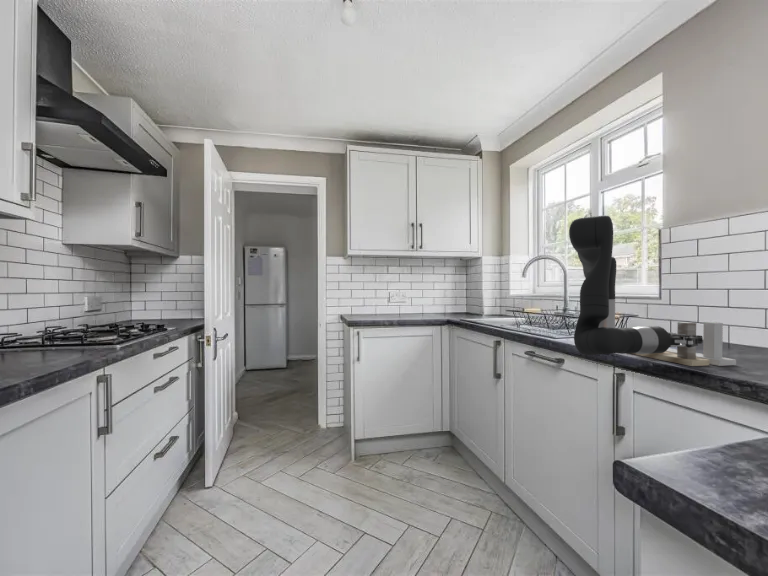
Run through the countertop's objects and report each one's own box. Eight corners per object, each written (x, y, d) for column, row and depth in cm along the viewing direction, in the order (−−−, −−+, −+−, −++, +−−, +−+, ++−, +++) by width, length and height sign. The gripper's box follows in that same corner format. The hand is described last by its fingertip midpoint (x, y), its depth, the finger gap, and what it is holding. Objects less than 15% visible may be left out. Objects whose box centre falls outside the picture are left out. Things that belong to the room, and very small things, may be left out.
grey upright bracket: (648, 352, 128) (648, 317, 128) (663, 351, 130) (663, 317, 130) (719, 365, 107) (719, 324, 107) (736, 365, 108) (736, 323, 108)
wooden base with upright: (625, 352, 128) (625, 317, 128) (640, 351, 129) (640, 317, 129) (691, 366, 106) (692, 324, 106) (709, 365, 108) (709, 323, 107)
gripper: (669, 329, 101) (721, 328, 105) (624, 324, 114) (671, 323, 118) (668, 358, 101) (720, 355, 105) (624, 349, 114) (671, 347, 118)
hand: (694, 338), depth 111 cm, fingers closed on wooden base with upright, 3 cm apart
